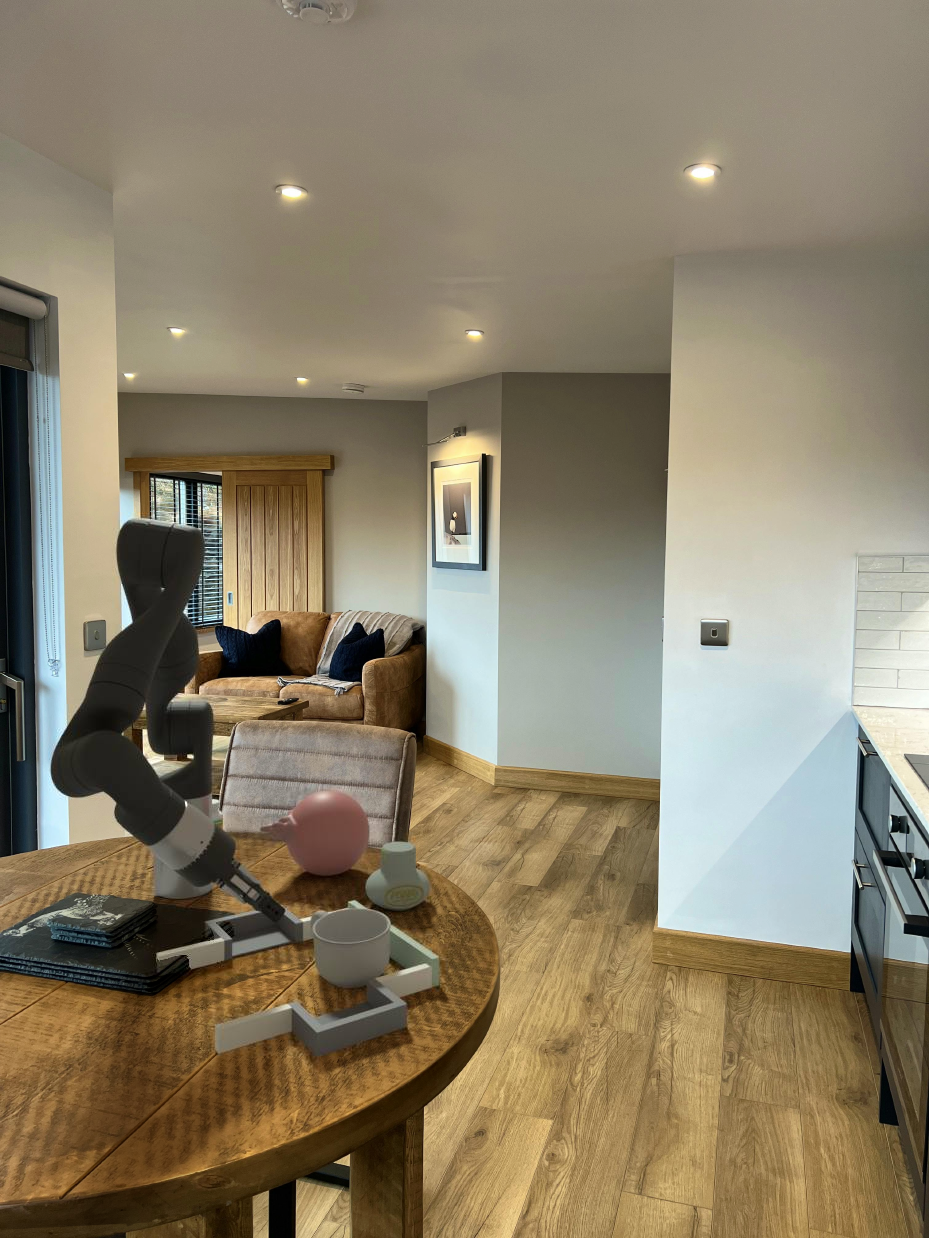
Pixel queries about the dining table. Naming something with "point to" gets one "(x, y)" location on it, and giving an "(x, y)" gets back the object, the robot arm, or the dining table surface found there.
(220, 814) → the supplement bottle
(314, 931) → the teacup
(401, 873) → the air freshener
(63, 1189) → the dining table surface
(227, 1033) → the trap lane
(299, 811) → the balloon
